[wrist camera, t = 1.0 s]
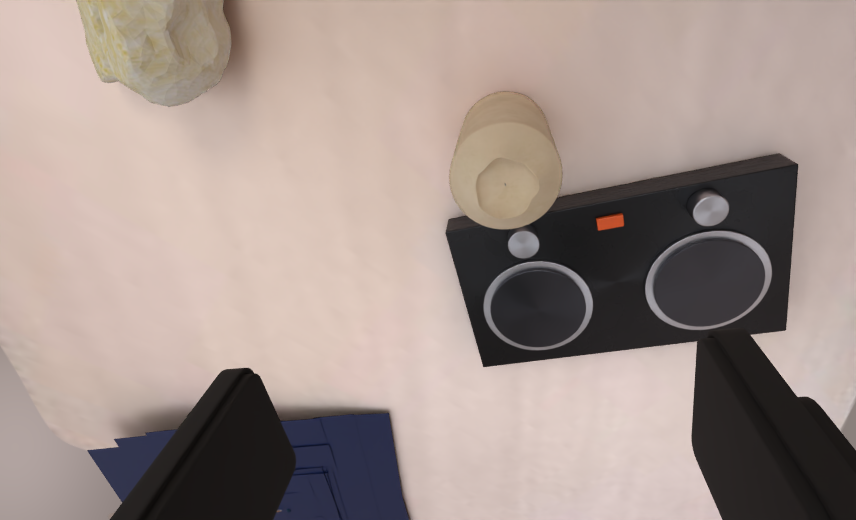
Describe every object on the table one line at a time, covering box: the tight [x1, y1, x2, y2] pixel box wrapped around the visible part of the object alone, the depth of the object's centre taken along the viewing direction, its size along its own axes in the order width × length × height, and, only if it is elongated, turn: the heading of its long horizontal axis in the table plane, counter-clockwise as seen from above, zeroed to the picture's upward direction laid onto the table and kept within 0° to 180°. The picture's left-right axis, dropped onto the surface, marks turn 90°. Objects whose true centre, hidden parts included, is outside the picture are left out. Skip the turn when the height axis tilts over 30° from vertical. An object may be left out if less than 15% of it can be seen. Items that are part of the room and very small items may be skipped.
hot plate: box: [446, 154, 798, 367], centre depth 33 cm, size 12×21×3 cm, turn 106°
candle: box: [449, 92, 562, 229], centre depth 27 cm, size 6×6×10 cm
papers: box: [87, 413, 409, 520], centre depth 52 cm, size 24×30×4 cm
